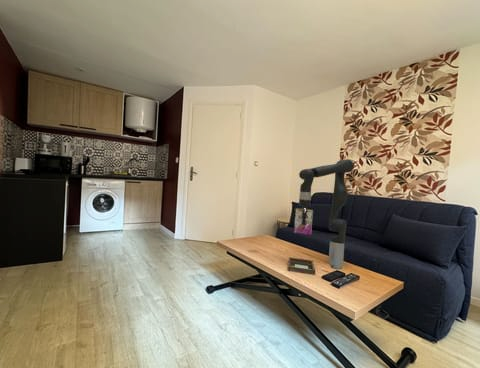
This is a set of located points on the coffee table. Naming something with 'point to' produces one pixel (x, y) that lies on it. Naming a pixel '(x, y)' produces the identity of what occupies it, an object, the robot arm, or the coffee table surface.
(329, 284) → the coffee table surface
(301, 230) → the candy bar box
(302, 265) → the sage offcut
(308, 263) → the tray
